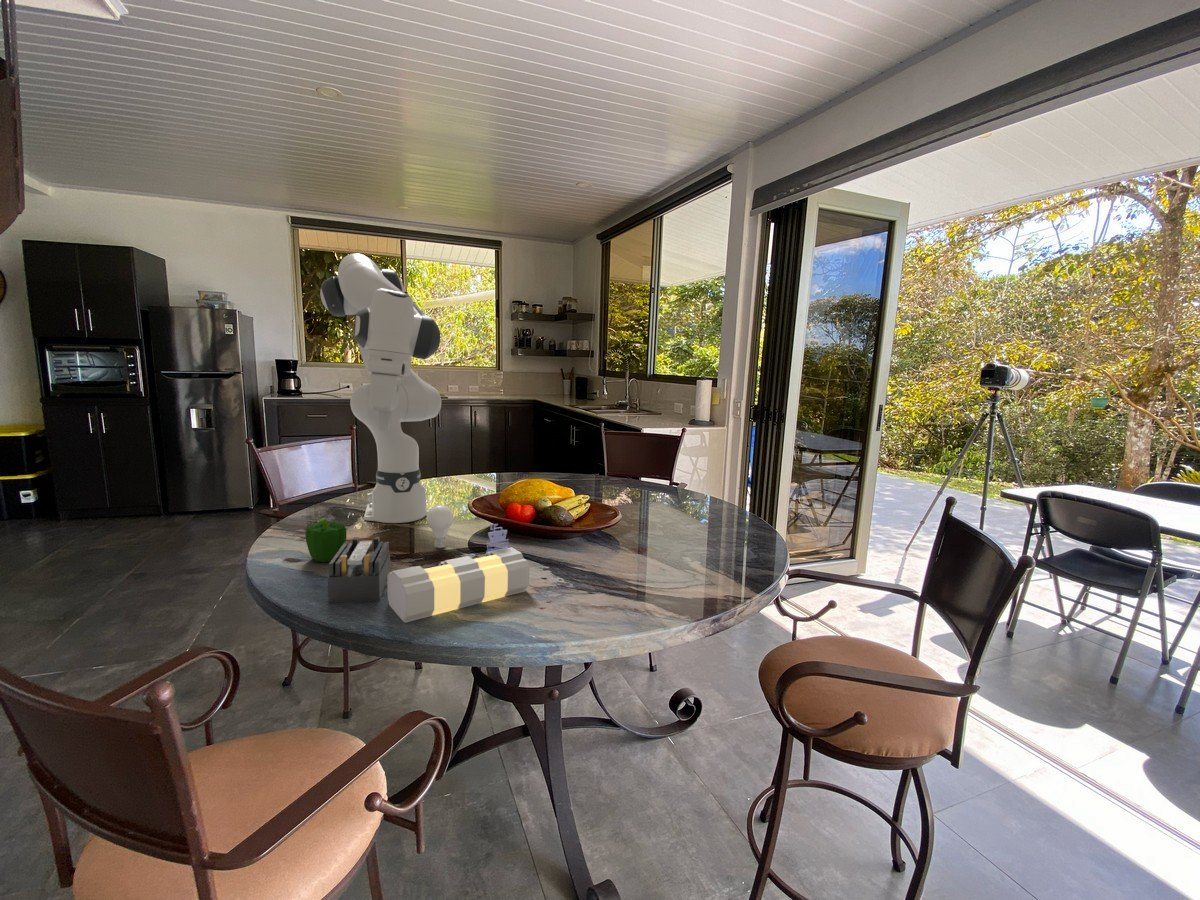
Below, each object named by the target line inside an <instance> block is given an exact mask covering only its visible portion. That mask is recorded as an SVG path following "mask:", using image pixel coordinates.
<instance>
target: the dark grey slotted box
mask: <svg viewBox="0 0 1200 900" xmlns="http://www.w3.org/2000/svg"><path fill="white" fill-rule="evenodd" d="M359 538H360V537H357V536H354V537H353V538H352V541H351V542H345V543H344V544H343V545H342V547H341V548H340V549H339V551H338V552H337V553H336V555H335V556H334V557H333V559H332V560H331V561H329V562H328V576H327V603H328V602H336V603H351V602H352V603H354V602H355V601H357V602H372V601H373V602H375V601H380V600H381V598H382V596H383V593H384V590H385V588H386V585H387V575H388V573H389V572H391V552H390V545H389V544H390V543H389V542H390V541H385V542H384V541H381V540H380V539H381V537H380V536H374V537H373V552H368V554H365V556H364V561H363V563H362V564H360V565H348V563H347V561H348V559H349V558H350V556H351V554H352V553H353V551H354V550H355V548H356V547H357V545H358V543H359V542H360V539H359Z"/></svg>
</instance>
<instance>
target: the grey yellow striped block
mask: <svg viewBox="0 0 1200 900" xmlns="http://www.w3.org/2000/svg"><path fill="white" fill-rule="evenodd" d="M498 525H499V523H491V525H490V529H489V530H490V532H488V531H487V536H488V538H489V542H486V548H487V550H486V551H485V552H486V553H484V554H483V556H482V557H476V558H472V557H471V556H469V555H466V556H462V557H455V558H452V559H445V560H443V561H440V562H439V563H438V565H437V566H432V567H429V568H428V567H427V568H424V567H422V566H421V565H416V566H411V567H406V568H401V569H396V570H392V571H390V572H389V573H388V575H387V583H386V585H387V591H386V592H387V599H388V603H389V607H390V608H391V609H392V611H394V612H395V614H396V615H397V616H398V617H399V619H401V620H402V621H403V623H410V622H413V621H416V620H420V619H425V618H428V617H431V616H432V617H433V616H437V615H440V614H444V613H448V612H451V611H455V610H458V609H462V608H466V607H471V606H474V605H478V604H482V603H485V602H489V601H493V600H497V599H501V598H505V597H509V596H512V595H515V594H520V593H523V592H526V591H527V589H528V588H529V586H530V567H531V566H530V565H529V562H528V560H527V559H525V558H524V556H523V552H520V551H519V550H517V549H515V548H514V547H512V546H511V547H509V542H507V541H509V538H507V539H506V537H507V534H508V529H503V526H499V527H497V526H498ZM497 529H498V530H497ZM499 529H500V530H499ZM492 547H494V548H492Z"/></svg>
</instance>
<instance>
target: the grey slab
mask: <svg viewBox="0 0 1200 900" xmlns="http://www.w3.org/2000/svg"><path fill="white" fill-rule="evenodd" d="M373 546H374V539H372V540H359V543H358V545H357V547H356V548H355V550H354V551H353V553H352V554H351V556H350V558H349V559H348V561H347V563H348V565H360V564H362V563H363V561H364V556H365V554H368V553H370V550H371V548H372V547H373Z"/></svg>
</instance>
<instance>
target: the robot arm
mask: <svg viewBox="0 0 1200 900" xmlns="http://www.w3.org/2000/svg"><path fill="white" fill-rule="evenodd" d="M337 270H338V271H337V275H336V276H333V275H330V277H328V278H327V279H325V280H323V282H322V283H321V285H320V291H319V292H320V293H319V295H320V299H321V303H322V304H323V306H324V308H325V309H326V310H327V311H328V313H329V314H331V316H333V317H347V316H353V315H354V326H353V327H354V328H353V338H354V340H355V341H356V343H357V345H358V350H359V352H360V355H361V358H362V362H363V365H364V367H365V372H366V373H368V375H370V377H369V378H370V379H369V380H370V381H369V383H368V384H363V385H359V386H357V387H356V388H355V389H354V390H353V391H352V393H351V395H350V400H349V401H350V402H349V405H350V409H351V412H352V414H353V415H354V417H355V418H357V420H359V421H360V422H362V423H363V424H364V425H365V426H366V427H367V428H368V429H369V431H370V432H371V434H372V436H373V438H374V441H375V444H376V451H377V470H376V473H375V481H376V484H375V486H374V488H373V490H372V491H371V492H368V493H367V502H370V503H368V504H367V505H366V509H365V513H364V516H363V520H364V521H369V522H371V521H372V522H378V523H387V524H397V523H398V524H400V523H402V524H404V523H410V522H415V521H418V520H422V519H423V518H425V517H427V513H428V511H429V510H430V509H431V508H428V507H427V495H426V492H427V491H426V487H425V486H424V485H422V483H421V475H422V473H421V469H420V468H419V467H420V466H419V463H420V462H419V458H420V456H419V454H420V452H419V449H420V448H419V444H418V442H417V440H416V439H415V438H413V437H412V436H410V435H409V434H406V433H404V432H403V430H402V425H401V423H403V422H404V423H405V422H406V423H408V422H423V421H426V420H430V419H433V418H436V417H437V416H438V415H439V413H440V412H441V408H442V398H441V394H440V393H439V391H438V389H437V388H435V387H434V386H432V385H430V384H429V383H427V382H426V381H425V380H423V379H422V378H421V377H419V375H418V374H417V373H416V372H415V371H414V370H413V369H412V367H411V366H412V358H416V359H420V360H427V359H428V358H430V357H431V356H433V355H434V354H435V353H436V352H437V351H438V350H439V348H440V344H441V330H440V328H439V325H438V324H437V322H436V321H435V320H434V319H433V318H432V316H427V315H426V314H425V313H424V312H423V311H422V309H421V308H420V307H419V306H418V305H417V303H415V301H414V299H413V297H412V296H411V295H410V294H409V293H405V287H404V283H403V281H402V279H401V278H400V276H399V275H398V273H397V272H396V271H394V270H392V269H386V268H382V269H380V268H379V266H378V265H377V264H376V262H374V261H373V260H372V259H371V258H370V257H368V256H366V255H364V254H361V253H350V254H348V255H346V256H344V257H343V258H342V259H341V261H340V263H339V265H338V269H337Z"/></svg>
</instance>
